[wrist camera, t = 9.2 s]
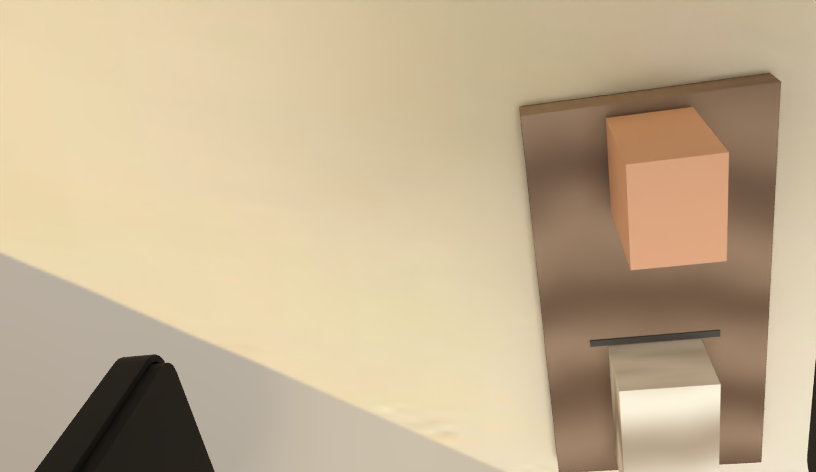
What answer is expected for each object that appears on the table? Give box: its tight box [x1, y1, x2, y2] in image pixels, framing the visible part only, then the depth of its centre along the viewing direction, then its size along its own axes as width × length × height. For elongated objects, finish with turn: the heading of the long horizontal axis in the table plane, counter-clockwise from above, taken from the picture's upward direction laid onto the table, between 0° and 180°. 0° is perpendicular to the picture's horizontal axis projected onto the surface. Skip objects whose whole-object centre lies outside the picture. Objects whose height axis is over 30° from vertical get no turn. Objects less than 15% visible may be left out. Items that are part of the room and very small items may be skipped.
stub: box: [606, 107, 729, 270], centre depth 34 cm, size 5×4×6 cm
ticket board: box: [519, 73, 781, 472], centre depth 39 cm, size 24×12×6 cm, turn 10°
